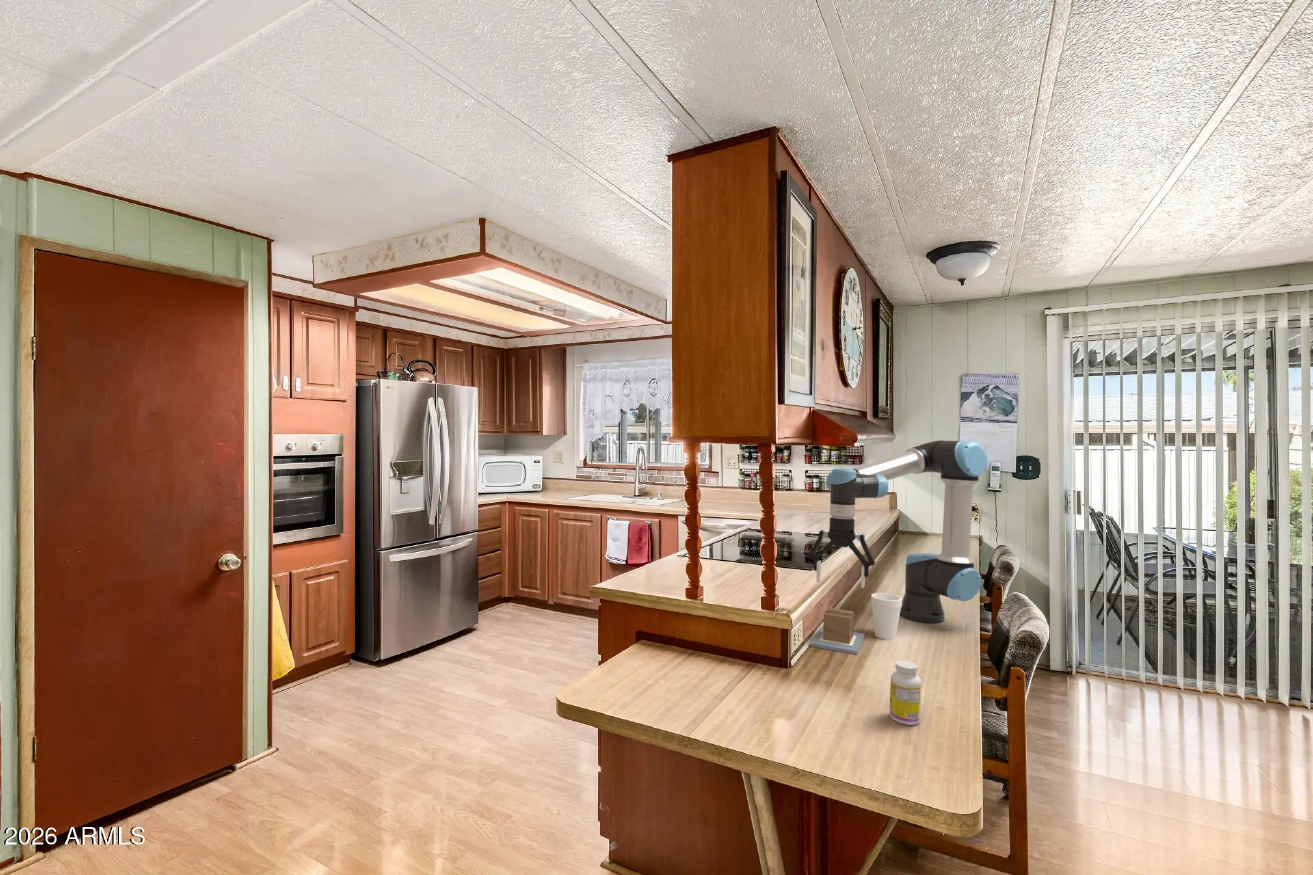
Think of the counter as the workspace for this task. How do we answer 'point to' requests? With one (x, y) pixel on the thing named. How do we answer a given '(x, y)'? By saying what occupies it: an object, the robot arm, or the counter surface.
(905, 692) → the supplement bottle
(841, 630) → the walnut cube
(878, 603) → the foam cup
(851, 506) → the robot arm
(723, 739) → the counter surface
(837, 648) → the blue flat board
